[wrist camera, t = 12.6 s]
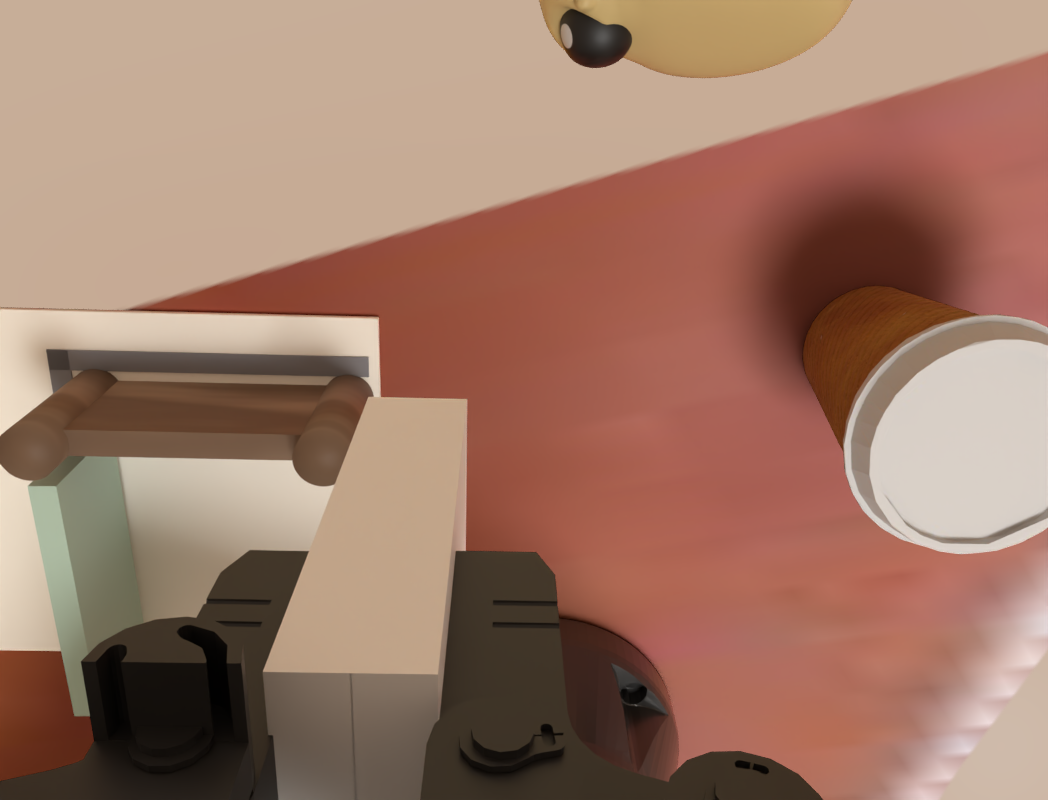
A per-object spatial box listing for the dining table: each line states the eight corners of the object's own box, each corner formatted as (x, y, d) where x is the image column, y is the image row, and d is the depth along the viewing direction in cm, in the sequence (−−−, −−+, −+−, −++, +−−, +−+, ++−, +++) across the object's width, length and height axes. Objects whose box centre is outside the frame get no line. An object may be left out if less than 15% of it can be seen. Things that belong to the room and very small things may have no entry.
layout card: (387, 652, 51) (386, 657, 50) (-164, 644, 50) (-169, 648, 50) (378, 316, 44) (377, 319, 44) (-261, 300, 43) (-268, 303, 43)
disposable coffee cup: (757, 436, 47) (837, 562, 35) (783, 248, 43) (880, 321, 32) (945, 441, 47) (1083, 567, 36) (985, 254, 43) (1152, 329, 32)
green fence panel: (112, 430, 45) (56, 486, 39) (146, 639, 49) (100, 716, 44) (87, 430, 45) (27, 486, 39) (123, 639, 49) (74, 716, 44)
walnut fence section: (375, 418, 46) (351, 487, 39) (78, 412, 45) (0, 480, 38) (374, 372, 45) (349, 434, 38) (71, 365, 44) (-10, 426, 37)
